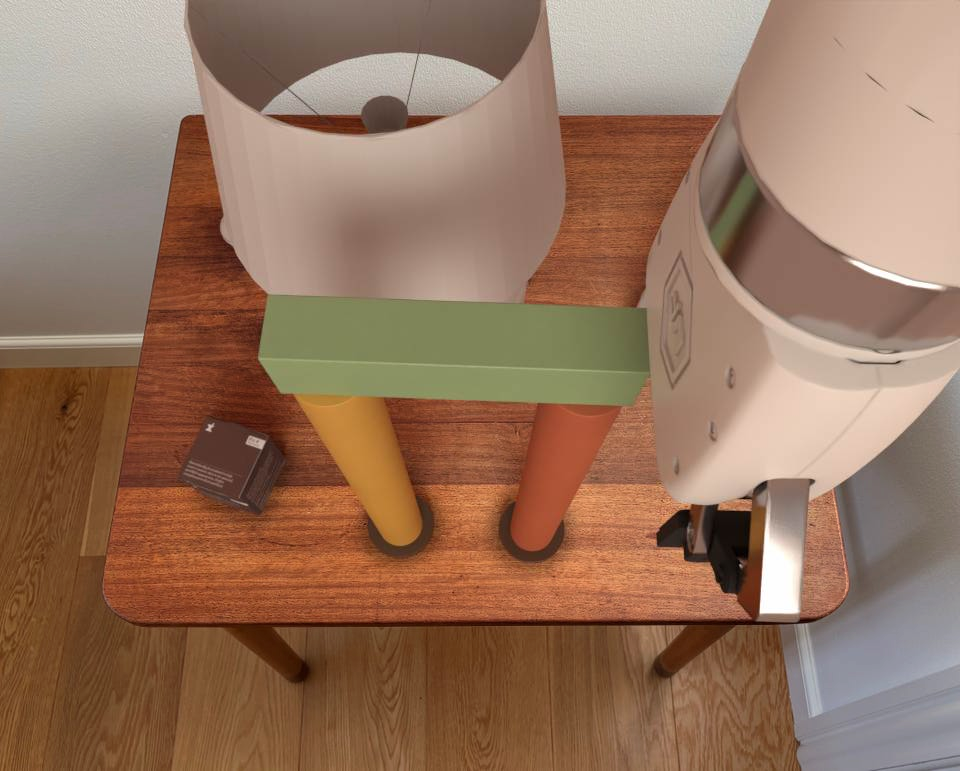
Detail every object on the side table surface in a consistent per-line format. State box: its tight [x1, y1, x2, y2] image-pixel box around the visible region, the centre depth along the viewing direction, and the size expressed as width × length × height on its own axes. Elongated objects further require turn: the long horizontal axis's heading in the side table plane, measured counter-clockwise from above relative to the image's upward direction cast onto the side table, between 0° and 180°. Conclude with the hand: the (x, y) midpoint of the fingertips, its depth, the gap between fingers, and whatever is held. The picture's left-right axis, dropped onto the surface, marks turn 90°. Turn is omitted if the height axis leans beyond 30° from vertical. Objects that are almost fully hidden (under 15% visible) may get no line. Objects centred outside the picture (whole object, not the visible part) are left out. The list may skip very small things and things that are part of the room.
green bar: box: [257, 294, 650, 407], centre depth 33 cm, size 3×16×4 cm, turn 88°
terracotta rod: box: [498, 403, 623, 565], centre depth 53 cm, size 6×6×38 cm
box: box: [176, 414, 287, 517], centre depth 69 cm, size 6×6×7 cm
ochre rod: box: [292, 394, 435, 559], centre depth 53 cm, size 6×6×38 cm
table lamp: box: [183, 0, 567, 304], centre depth 60 cm, size 25×25×40 cm
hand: (685, 427), depth 33 cm, fingers open, 9 cm apart
